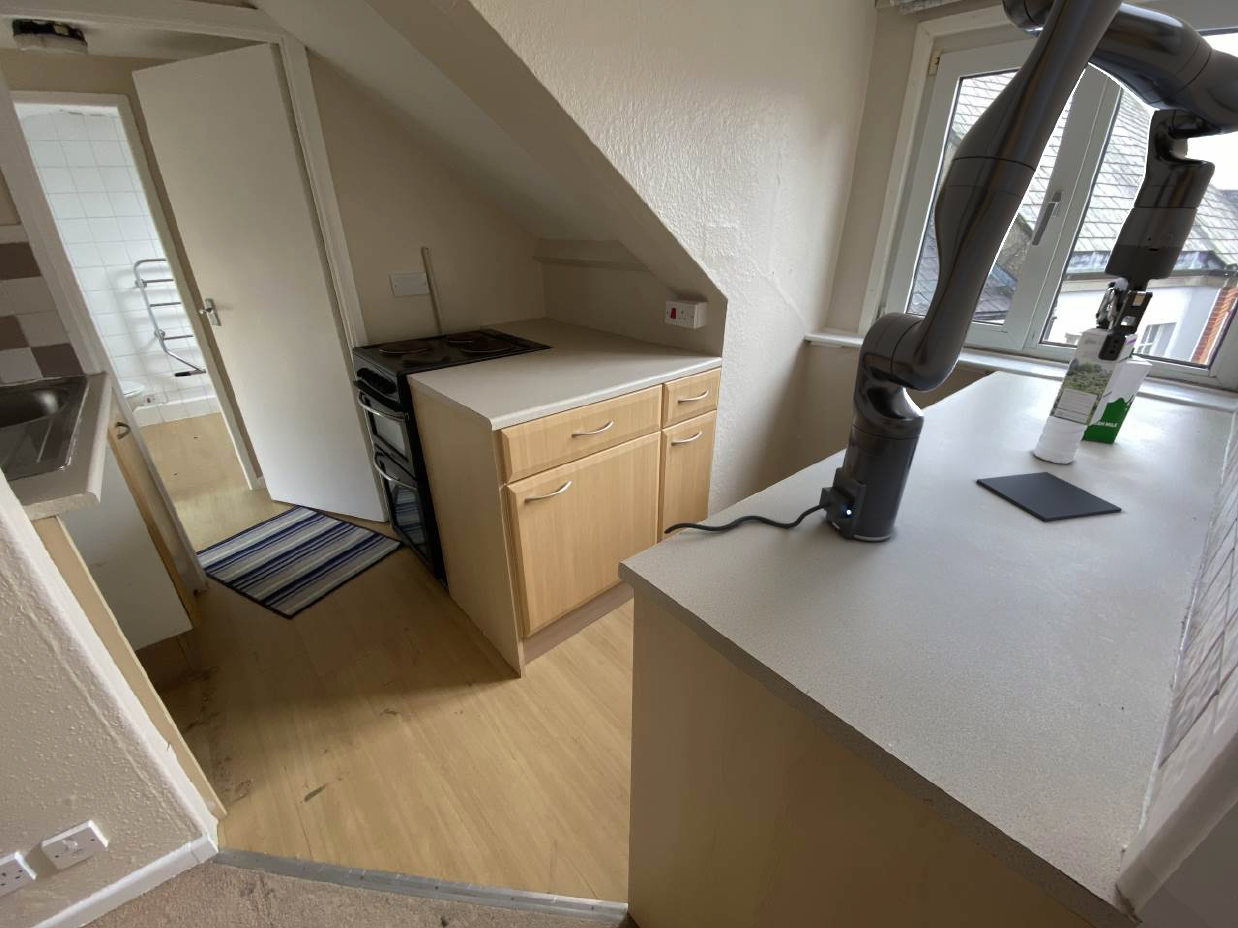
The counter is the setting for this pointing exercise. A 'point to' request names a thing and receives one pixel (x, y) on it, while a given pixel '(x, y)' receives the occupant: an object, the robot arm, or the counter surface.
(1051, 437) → the water bottle
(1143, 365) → the milk carton
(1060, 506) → the mat
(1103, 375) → the syrup box
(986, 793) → the counter surface
